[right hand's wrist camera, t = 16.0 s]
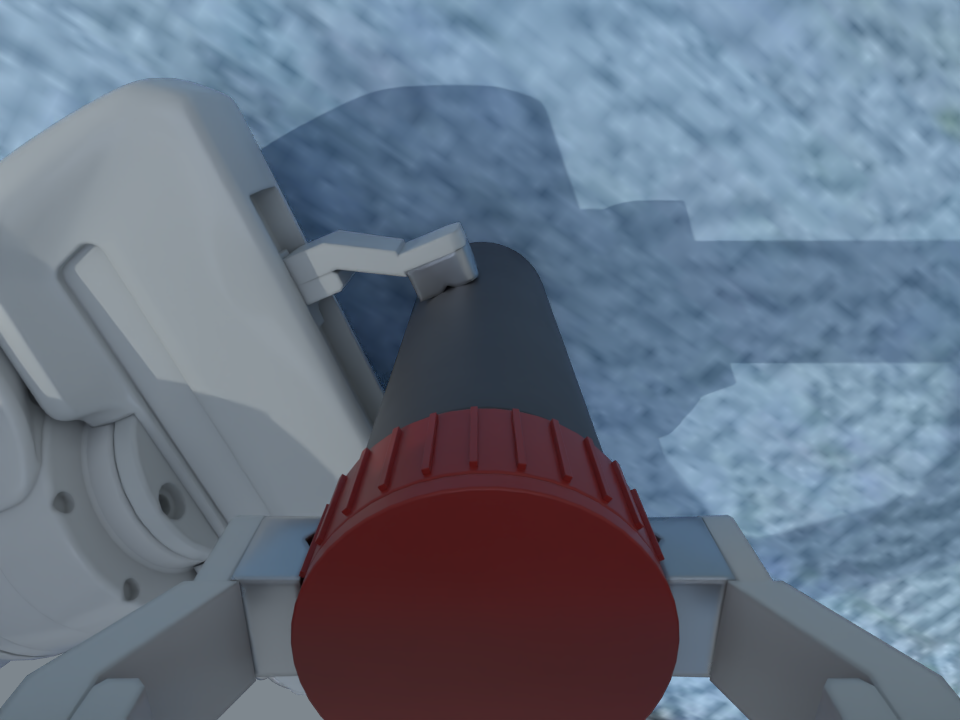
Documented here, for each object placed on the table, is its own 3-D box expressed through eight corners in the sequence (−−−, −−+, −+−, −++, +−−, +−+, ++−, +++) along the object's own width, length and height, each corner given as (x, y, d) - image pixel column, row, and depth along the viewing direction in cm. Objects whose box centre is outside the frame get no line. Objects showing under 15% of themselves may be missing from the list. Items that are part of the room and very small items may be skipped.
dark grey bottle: (447, 380, 25) (400, 764, 10) (397, 269, 23) (259, 538, 9) (562, 339, 24) (686, 687, 10) (520, 222, 23) (593, 426, 8)
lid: (621, 674, 12) (651, 795, 10) (327, 661, 12) (294, 782, 9) (670, 412, 10) (723, 494, 8) (317, 393, 10) (271, 471, 7)
